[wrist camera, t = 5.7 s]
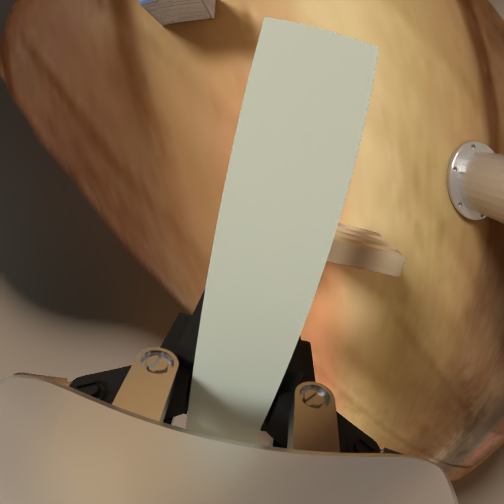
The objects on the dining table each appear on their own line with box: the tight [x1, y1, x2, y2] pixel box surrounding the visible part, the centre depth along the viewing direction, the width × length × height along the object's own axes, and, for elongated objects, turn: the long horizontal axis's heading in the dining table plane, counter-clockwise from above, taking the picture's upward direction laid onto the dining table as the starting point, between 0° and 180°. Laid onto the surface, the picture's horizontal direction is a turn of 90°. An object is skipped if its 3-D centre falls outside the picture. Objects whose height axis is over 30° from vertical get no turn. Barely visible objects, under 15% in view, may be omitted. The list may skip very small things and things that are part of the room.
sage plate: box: [186, 17, 379, 444], centre depth 15 cm, size 20×2×16 cm, turn 167°
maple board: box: [327, 223, 406, 277], centre depth 35 cm, size 20×2×10 cm, turn 78°
